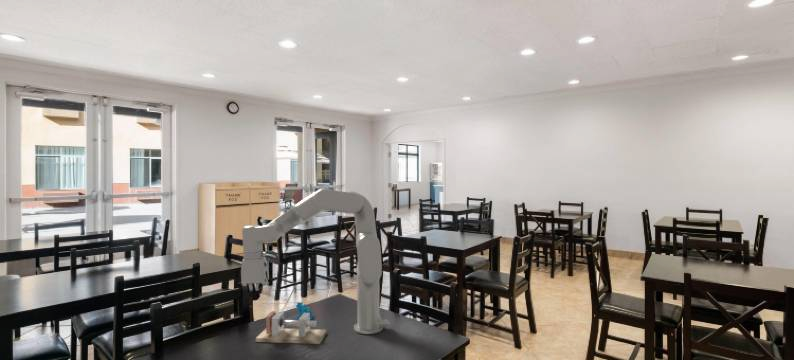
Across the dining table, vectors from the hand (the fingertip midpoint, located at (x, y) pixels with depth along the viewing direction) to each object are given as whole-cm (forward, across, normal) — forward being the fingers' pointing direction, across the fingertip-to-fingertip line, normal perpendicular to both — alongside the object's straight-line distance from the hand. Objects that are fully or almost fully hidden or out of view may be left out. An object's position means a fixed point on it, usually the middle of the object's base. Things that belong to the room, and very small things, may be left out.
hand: (255, 299), depth 161 cm
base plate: (+16, -14, 0) cm, 21 cm away
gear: (+16, -14, -20) cm, 29 cm away
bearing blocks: (+14, -14, 0) cm, 20 cm away
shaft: (+13, -15, 0) cm, 20 cm away
